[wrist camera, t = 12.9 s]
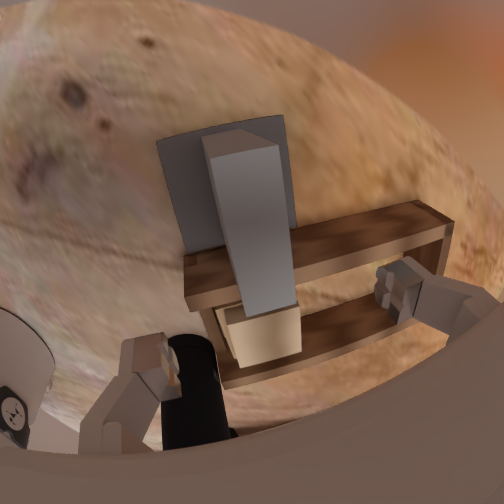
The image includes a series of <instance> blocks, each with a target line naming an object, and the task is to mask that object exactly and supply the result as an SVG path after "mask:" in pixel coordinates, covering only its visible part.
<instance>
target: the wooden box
mask: <svg viewBox="0 0 504 504" xmlns="http://www.w3.org/2000/svg"><path fill="white" fill-rule="evenodd" d="M454 223H455V221H453V220H451V219H450V218H448V217H447V216H445V215H443V214H442V213H440V212H438V211H437V210H435V209H433V208H432V207H430V206H428V205H426V204H425V203H423V202H421V201H419V200H416V201H412V202H408V203H403V204H399V205H394V206H390V207H386V208H381V209H377V210H373V211H368V212H364V213H360V214H355V215H351V216H347V217H343V218H338V219H334V220H330V221H326V222H322V223H317V224H313V225H309V226H305V227H301V228H296V229H292V230H289V232H290V242H291V251H292V261H293V271H294V282H295V285H298V284H301V283H305V282H308V281H312V280H315V279H318V278H322V277H325V276H329V275H332V274H335V273H339V272H342V271H345V270H348V269H352V268H355V267H358V266H361V265H365V264H368V263H371V262H374V261H377V260H380V259H383V258H386V257H389V256H392V255H395V254H398V253H401V252H404V257H406V256H409V257H412V258H413V259H414V260H415V261H417V262H418V263H419V264H420V265H422V266H423V267H424V268H425V269H427V270H428V271H429V272H430V273H431V274H433V275H440V276H443V274H444V270H445V266H446V262H447V258H448V253H449V249H450V244H451V239H452V234H453V229H454ZM184 298H185V301H186V303H187V306H188V308H189V311H190V312H194V311H198V310H199V311H200V314H201V317H202V319H203V322H204V324H205V327H206V329H207V332H208V335H209V337H210V340H211V342H212V344H213V347H214V349H215V352H216V355H217V361H218V367H219V373H220V378H221V383H222V385H223V387H224V389H225V390H227V389H231V388H235V387H239V386H244V385H248V384H252V383H255V382H259V381H263V380H267V379H270V378H274V377H277V376H281V375H284V374H287V373H291V372H294V371H297V370H300V369H303V368H307V367H310V366H313V365H316V364H319V363H321V362H324V361H327V360H330V359H333V358H335V357H338V356H341V355H344V354H346V353H349V352H351V351H354V350H357V349H359V348H362V347H364V346H366V345H369V344H371V343H374V342H376V341H378V340H381V339H383V338H385V337H388V336H390V335H392V334H394V333H396V332H399V331H401V330H403V329H405V328H407V327H409V326H411V325H413V324H415V323H417V322H420V321H418V320H416V319H414V318H413V317H412V318H410V319H408V320H406V321H403V322H401V323H399V324H396V323H395V322H394V320H393V319H392V318H391V317H390V316H389V315H388V309H386V308H383V307H381V306H380V305H379V304H378V302H377V300H376V298H375V294H374V293H373V294H370V295H367V296H364V297H361V298H359V299H356V300H353V301H350V302H347V303H344V304H341V305H338V306H335V307H332V308H329V309H326V310H323V311H320V312H317V313H313V314H310V315H307V316H304V317H300V320H301V347H302V352H298V353H295V354H292V355H288V356H285V357H281V358H278V359H274V360H271V361H267V362H263V363H260V364H256V365H252V366H248V367H244V368H240V366H239V363H238V360H237V359H234V357H233V355H232V352H231V350H230V347H229V345H228V342H227V340H226V338H224V336H223V333H222V330H221V327H220V324H219V321H218V319H217V316H216V313H215V310H214V307H215V306H219V305H223V304H227V303H231V302H235V301H238V300H241V297H240V293H239V290H238V286H237V283H236V280H235V276H234V272H233V269H232V265H231V262H230V258H229V255H228V251H227V248H226V246H223V247H219V248H215V249H211V250H207V251H203V252H199V253H196V254H192V255H188V256H184Z"/></svg>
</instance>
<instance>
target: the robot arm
mask: <svg viewBox="0 0 504 504" xmlns="http://www.w3.org/2000/svg"><path fill="white" fill-rule="evenodd" d="M376 277H377V278H378V281H377V282H376V284H375V287H374V294H375V298H376V300H377V302H378V304H379V305H380V306H381V307H383V308H386V309H388V315H389V316H390V317H391V318H392V319H393V320H394V322H395V323H396V324H399V323H401V322H403V321H406V320H408V319H410V318H412V317H413V318H414V319H416V320H418V321H421V322H423V323H425V324H427V325H429V326H431V327H433V328H435V329H437V330H440V331H442V332H444V333H446V334H448V335H450V336H449V338H448V340H447V342H446V346H445V347H444V348H442V349H441V350H439V351H438V352H436V353H435V354H433V355H431V356H430V357H428V358H427V359H425V360H423V361H422V362H420V363H418V364H417V365H415V366H413V367H412V368H410V369H408V370H406V371H405V372H403V373H401V374H399V375H397V376H396V377H394V378H392V379H390V380H388V381H386V382H384V383H382V384H380V385H378V386H376V387H374V388H372V389H370V390H368V391H366V392H364V393H362V394H360V395H358V396H355V397H353V398H351V399H349V400H347V401H344V402H342V403H340V404H337V405H335V406H332V407H330V408H327V409H325V410H322V411H320V412H317V413H315V414H312V415H309V416H307V417H304V418H301V419H298V420H295V421H292V422H289V423H286V424H283V425H280V426H277V427H274V428H270V429H267V430H264V431H260V432H256V433H253V434H249V435H245V436H241V437H237V438H233V439H229V440H224V441H219V442H215V443H210V444H204V445H199V446H193V447H187V448H180V449H173V450H165V451H157V452H155V451H153V450H152V449H151V448H150V447H148V446H147V445H146V444H144V443H143V442H142V440H143V438H144V436H145V434H146V432H147V430H148V427H149V425H150V423H151V421H152V419H153V417H154V415H155V413H156V410H157V408H158V406H159V404H160V402H161V401H166V400H171V399H175V398H180V397H182V394H181V384H180V381H179V379H178V377H177V375H178V373H179V365H178V361H177V357H176V355H175V352H174V350H173V348H172V347H170V346H168V339H167V337H166V336H165V334H164V333H163V332H160V333H155V334H150V335H145V336H140V337H136V338H131V339H126V340H124V341H123V342H122V346H121V354H120V363H119V373H118V376H115V377H114V378H113V379H112V381H111V382H110V383H109V385H108V386H107V387H106V389H105V390H104V391H103V393H102V394H101V395H100V397H99V398H98V399H97V401H96V402H95V404H94V405H93V406H92V408H91V409H90V410H89V412H88V413H87V415H86V416H85V417H84V419H83V420H82V422H81V424H80V434H79V448H78V454H65V453H53V452H43V451H35V450H27V446H28V443H29V440H28V439H29V435H30V428H29V426H31V425H33V424H34V422H35V419H36V416H37V414H38V411H39V408H40V405H41V403H42V400H43V397H44V395H45V393H48V392H50V389H51V381H50V378H51V377H52V375H53V373H54V370H55V364H54V360H53V357H52V355H51V353H50V351H49V350H48V348H47V347H46V345H45V344H44V343H43V341H42V340H41V339H40V338H39V337H38V336H37V334H36V333H35V332H34V331H33V330H31V329H30V328H29V327H28V326H27V325H26V324H25V323H23V322H22V321H21V320H19V319H18V318H16V317H15V316H13V315H12V314H10V313H8V312H6V311H4V310H2V309H0V504H504V302H503V303H500V302H498V301H497V300H496V299H495V298H494V297H493V296H492V295H491V294H489V293H488V292H487V291H486V290H485V289H484V288H482V287H479V286H475V285H472V284H468V283H465V282H461V281H458V280H454V279H451V278H447V277H443V276H440V275H433V274H431V273H430V272H429V271H428V270H427V269H425V268H424V267H423V266H422V265H420V264H419V263H418V262H417V261H415V260H414V259H413V258H412V257H409V256H406V257H403V258H401V259H398V260H396V261H394V262H391V263H388V264H386V265H383V266H381V267H378V269H377V271H376Z"/></svg>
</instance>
